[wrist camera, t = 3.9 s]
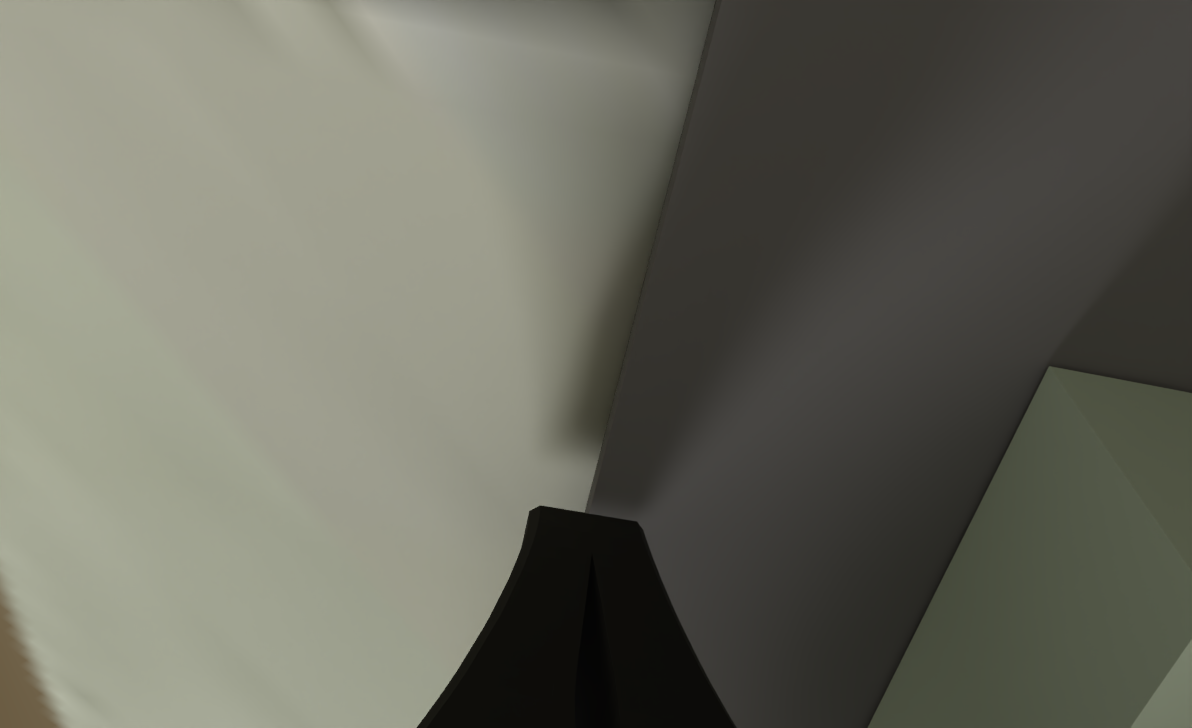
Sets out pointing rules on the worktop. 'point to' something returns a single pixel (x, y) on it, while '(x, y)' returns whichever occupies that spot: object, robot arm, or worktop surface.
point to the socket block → (1067, 575)
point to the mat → (885, 309)
